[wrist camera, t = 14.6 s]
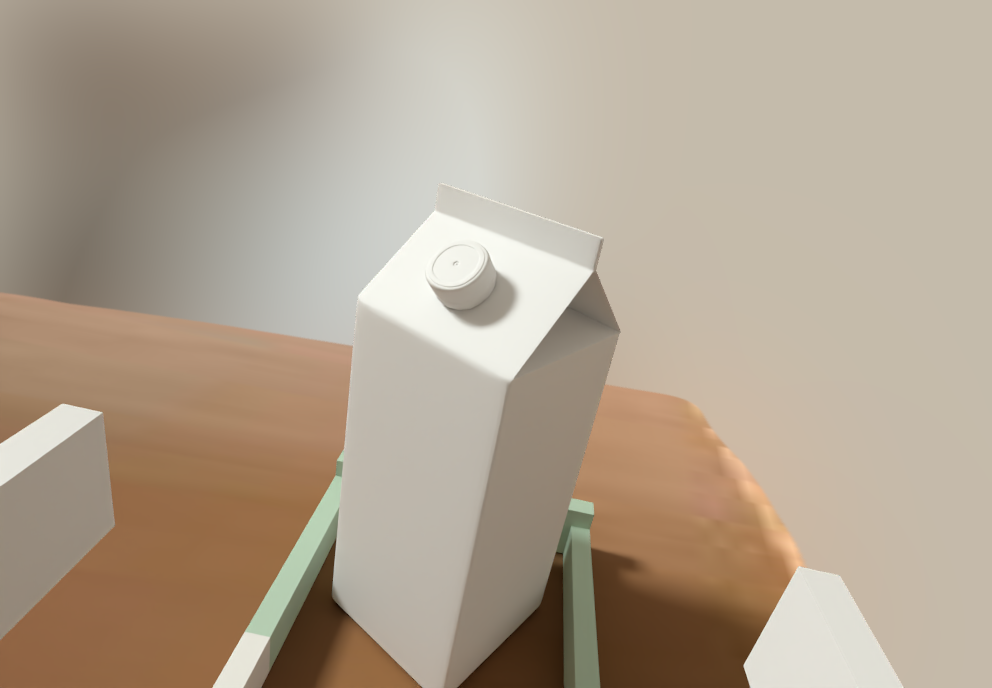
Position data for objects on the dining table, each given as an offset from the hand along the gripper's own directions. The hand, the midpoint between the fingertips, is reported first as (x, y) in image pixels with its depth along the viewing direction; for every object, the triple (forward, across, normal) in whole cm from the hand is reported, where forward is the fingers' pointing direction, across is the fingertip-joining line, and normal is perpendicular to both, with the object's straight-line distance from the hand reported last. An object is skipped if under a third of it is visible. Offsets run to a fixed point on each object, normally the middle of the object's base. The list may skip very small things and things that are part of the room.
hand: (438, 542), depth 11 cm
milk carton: (+12, 0, -15) cm, 19 cm away
